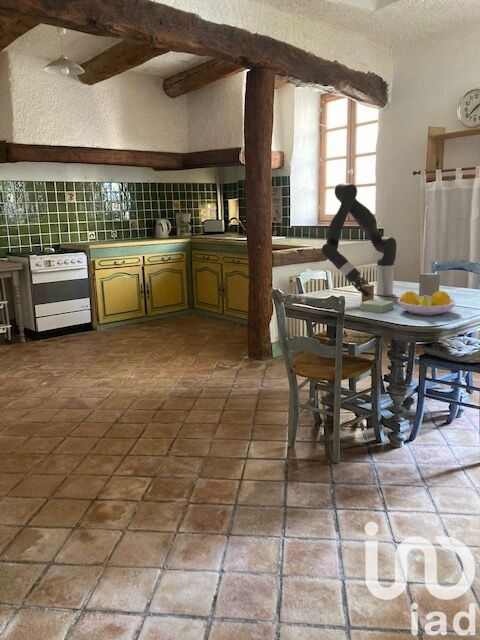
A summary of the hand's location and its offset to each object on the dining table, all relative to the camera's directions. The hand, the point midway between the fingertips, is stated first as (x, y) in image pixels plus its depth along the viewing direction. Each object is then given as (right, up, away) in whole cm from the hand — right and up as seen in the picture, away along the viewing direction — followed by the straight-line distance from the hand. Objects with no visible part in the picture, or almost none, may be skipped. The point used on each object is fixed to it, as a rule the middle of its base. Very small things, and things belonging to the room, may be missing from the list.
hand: (370, 294), depth 272 cm
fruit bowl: (+20, -10, -23) cm, 33 cm away
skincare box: (+30, -5, -1) cm, 31 cm away
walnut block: (-1, -5, +2) cm, 5 cm away
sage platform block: (0, -8, -12) cm, 15 cm away
